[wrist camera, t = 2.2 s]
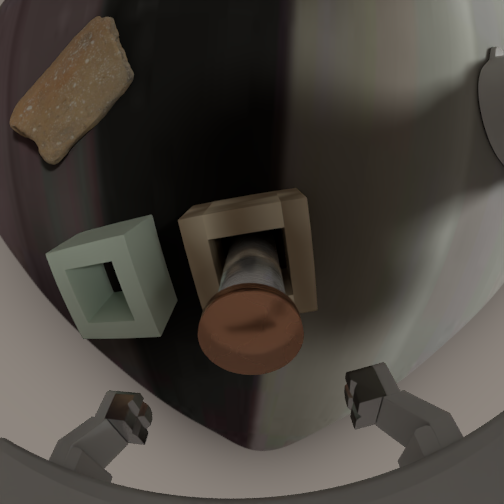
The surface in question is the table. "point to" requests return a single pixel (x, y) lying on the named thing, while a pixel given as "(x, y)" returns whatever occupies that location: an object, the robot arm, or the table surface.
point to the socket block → (128, 273)
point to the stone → (74, 91)
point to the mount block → (247, 221)
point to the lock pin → (251, 311)
